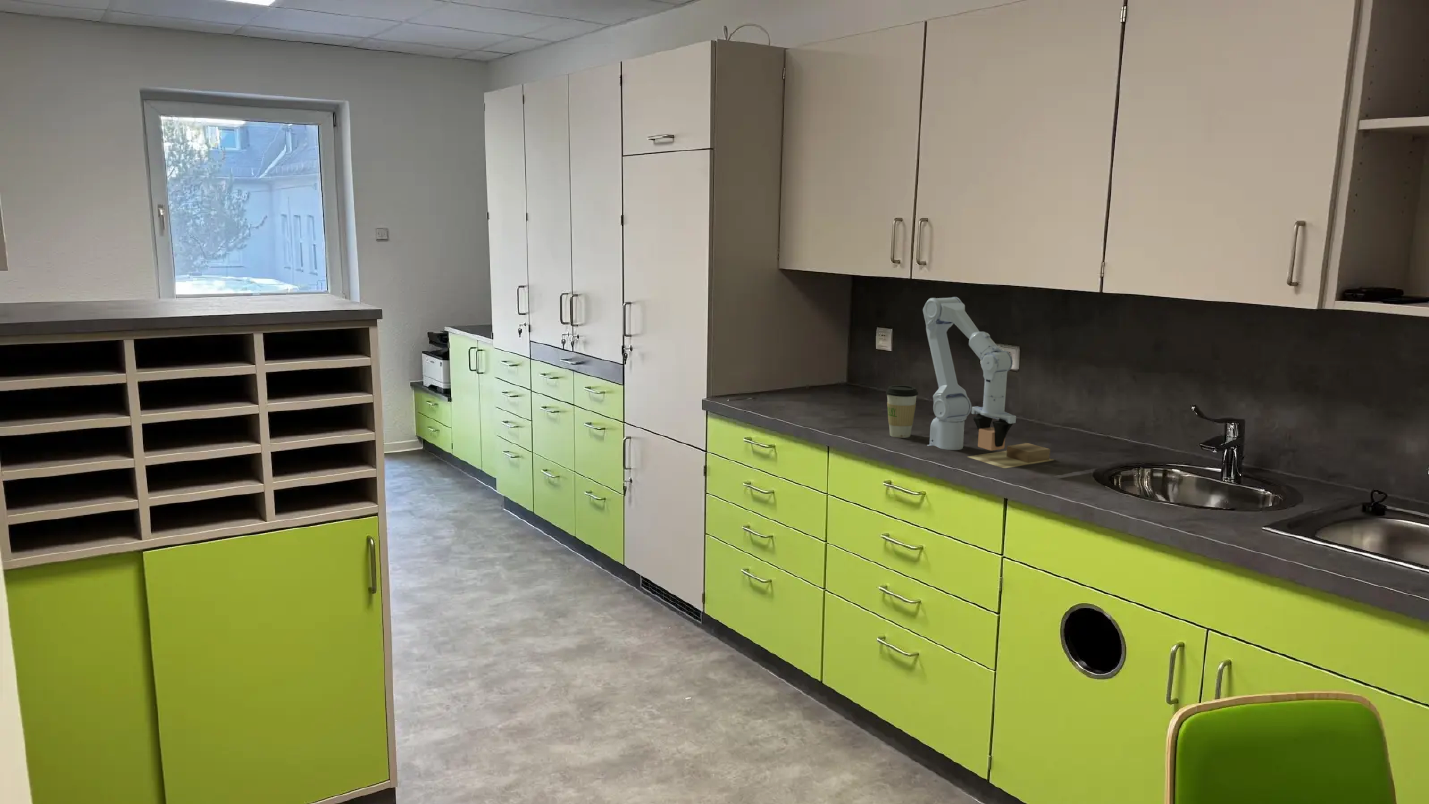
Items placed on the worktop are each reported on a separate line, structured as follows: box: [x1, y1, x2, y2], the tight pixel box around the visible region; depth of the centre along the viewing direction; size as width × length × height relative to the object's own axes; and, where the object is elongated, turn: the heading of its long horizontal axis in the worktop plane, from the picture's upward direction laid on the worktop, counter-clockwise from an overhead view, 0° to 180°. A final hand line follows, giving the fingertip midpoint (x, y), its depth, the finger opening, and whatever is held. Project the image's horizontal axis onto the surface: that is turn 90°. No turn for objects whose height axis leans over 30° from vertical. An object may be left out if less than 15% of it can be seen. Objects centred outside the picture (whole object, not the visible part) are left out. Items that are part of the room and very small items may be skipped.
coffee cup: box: [885, 384, 919, 439], centre depth 292 cm, size 10×10×15 cm
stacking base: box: [967, 442, 1054, 469], centre depth 262 cm, size 14×19×4 cm
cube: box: [977, 426, 1006, 451], centre depth 261 cm, size 5×5×5 cm
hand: (991, 444), depth 261 cm, fingers closed on cube, 5 cm apart
